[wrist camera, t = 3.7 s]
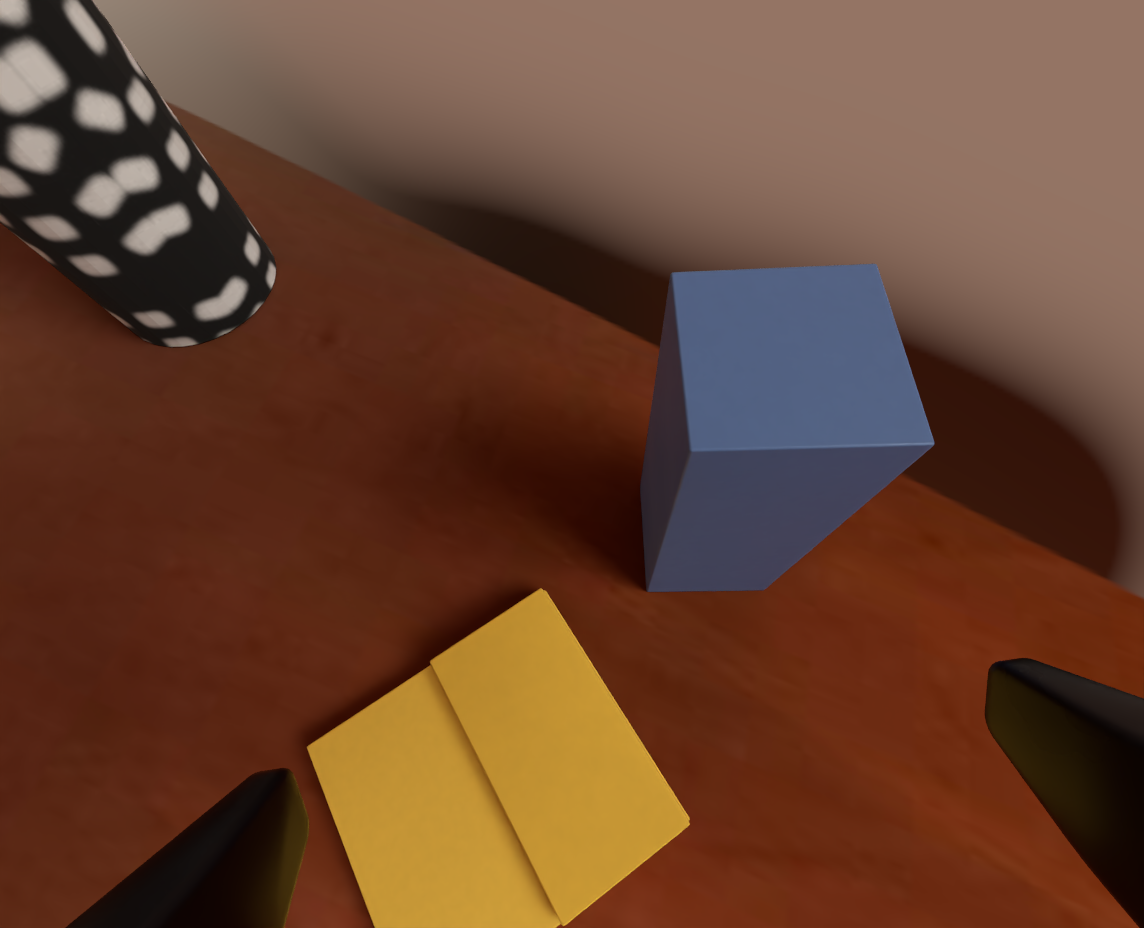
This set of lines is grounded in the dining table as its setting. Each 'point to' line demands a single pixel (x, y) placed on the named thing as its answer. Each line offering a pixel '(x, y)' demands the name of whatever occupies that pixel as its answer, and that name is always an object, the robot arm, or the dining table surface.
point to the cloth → (495, 784)
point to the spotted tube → (117, 181)
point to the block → (770, 420)
